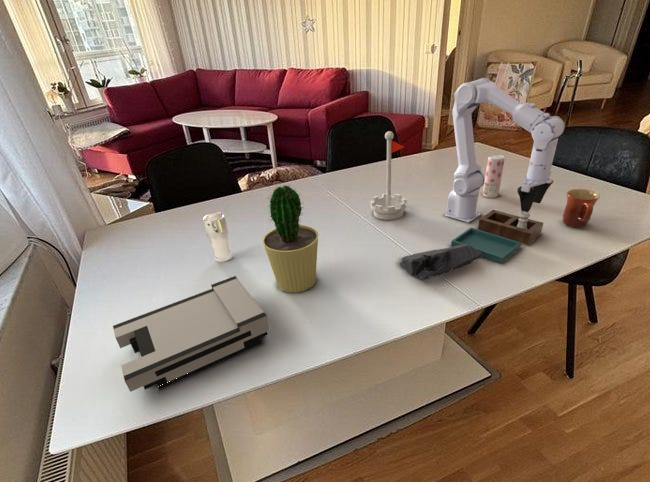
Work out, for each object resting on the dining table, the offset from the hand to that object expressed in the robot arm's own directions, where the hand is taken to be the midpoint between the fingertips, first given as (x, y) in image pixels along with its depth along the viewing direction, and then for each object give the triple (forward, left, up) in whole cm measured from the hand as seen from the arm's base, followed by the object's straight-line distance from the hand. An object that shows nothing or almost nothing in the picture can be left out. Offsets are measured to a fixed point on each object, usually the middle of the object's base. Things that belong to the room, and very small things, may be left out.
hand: (530, 206), depth 120 cm
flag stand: (-45, -12, -10) cm, 47 cm away
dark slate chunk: (-10, -31, -9) cm, 34 cm away
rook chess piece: (-1, 0, -10) cm, 10 cm away
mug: (+9, +16, -10) cm, 21 cm away
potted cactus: (-37, -64, -10) cm, 75 cm away
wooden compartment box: (-5, 0, -10) cm, 11 cm away
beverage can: (-24, +24, -10) cm, 35 cm away
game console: (-35, -98, -10) cm, 105 cm away
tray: (-6, -14, -10) cm, 18 cm away
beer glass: (-67, -71, -10) cm, 98 cm away
